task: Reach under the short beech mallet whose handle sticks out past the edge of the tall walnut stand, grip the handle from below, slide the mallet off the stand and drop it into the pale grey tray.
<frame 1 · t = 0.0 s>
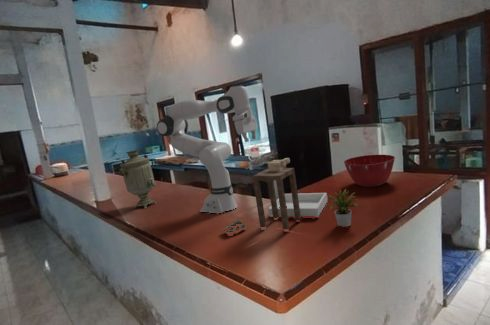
hand: (250, 140, 165), 39 cm above the counter, tool pointing down, fingers open, 8 cm apart
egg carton: (235, 232, 145), on the counter
mallet: (277, 169, 142), point 26 cm above the counter, touching walnut stand
house plant: (342, 226, 132), on the counter
grey tray: (299, 209, 161), on the counter
walnut stand: (281, 225, 143), on the counter
mixing bowl: (370, 184, 185), on the counter
samovar: (146, 206, 216), on the counter
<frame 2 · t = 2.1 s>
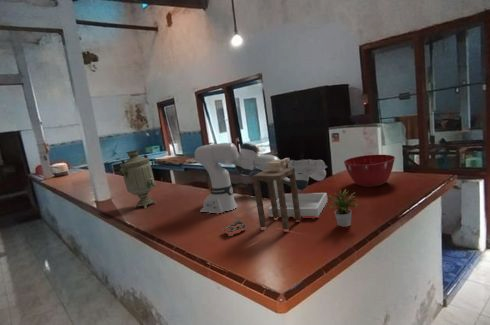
hand: (300, 161, 162), 24 cm above the counter, tool pointing upward, fingers open, 8 cm apart
nothing on the counter moved.
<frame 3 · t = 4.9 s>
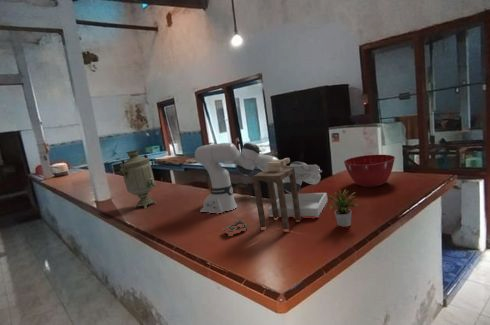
hand: (293, 166, 153), 24 cm above the counter, tool pointing upward, fingers open, 8 cm apart
nothing on the counter moved.
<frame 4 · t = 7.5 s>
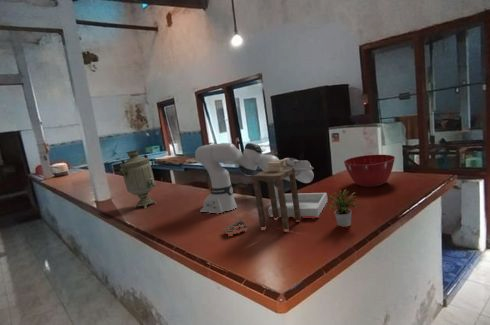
hand: (283, 161, 147), 28 cm above the counter, tool pointing upward, fingers closed on mallet, 2 cm apart
mallet: (277, 169, 142), point 26 cm above the counter, touching gripper, walnut stand
everything else where it was.
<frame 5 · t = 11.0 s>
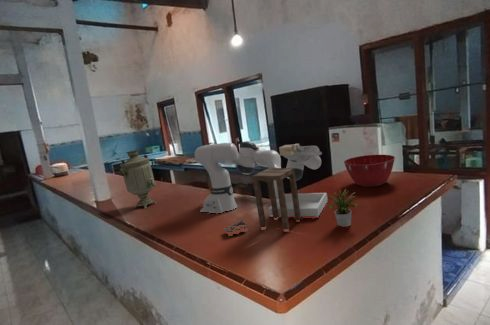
hand: (293, 146, 155), 33 cm above the counter, tool pointing upward, fingers closed on mallet, 2 cm apart
mallet: (288, 154, 150), point 31 cm above the counter, touching gripper
when the fingers open (23 cm above the counter, at t = 14.7 s): mallet drops 20 cm, resting on grey tray.
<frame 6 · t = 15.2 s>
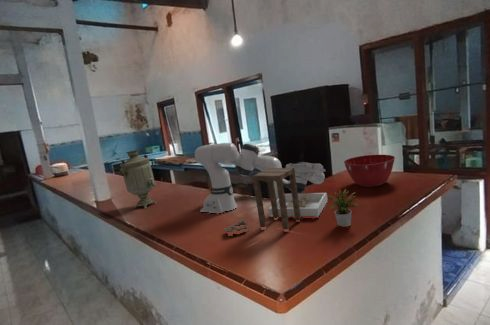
hand: (298, 164, 159), 23 cm above the counter, tool pointing upward, fingers open, 7 cm apart
mallet: (297, 208, 160), point 1 cm above the counter, touching grey tray
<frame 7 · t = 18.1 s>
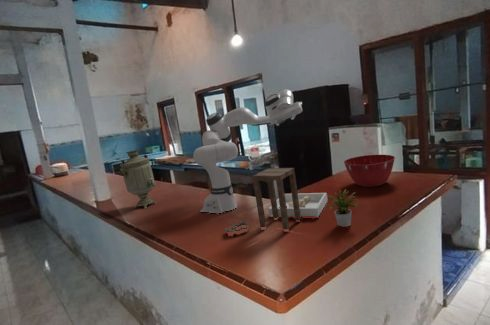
hand: (284, 121, 172), 45 cm above the counter, tool tilted 60°, fingers open, 8 cm apart
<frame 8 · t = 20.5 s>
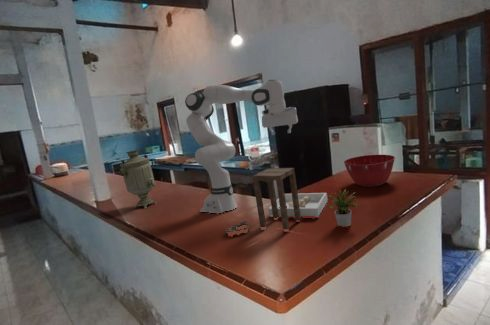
hand: (281, 133, 172), 39 cm above the counter, tool pointing down, fingers open, 8 cm apart
at the end: mallet inside the target area on the grey tray (1.5 cm from its centre), point 1.0 cm above the grey tray's base; the gripper is holding nothing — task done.
